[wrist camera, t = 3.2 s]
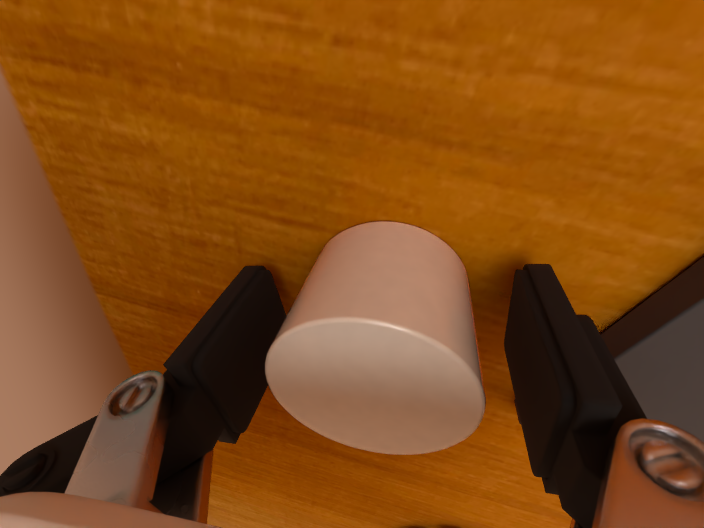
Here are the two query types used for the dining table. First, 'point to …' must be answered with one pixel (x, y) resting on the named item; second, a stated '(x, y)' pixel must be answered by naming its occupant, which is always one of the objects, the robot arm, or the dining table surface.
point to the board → (665, 352)
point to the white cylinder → (382, 344)
